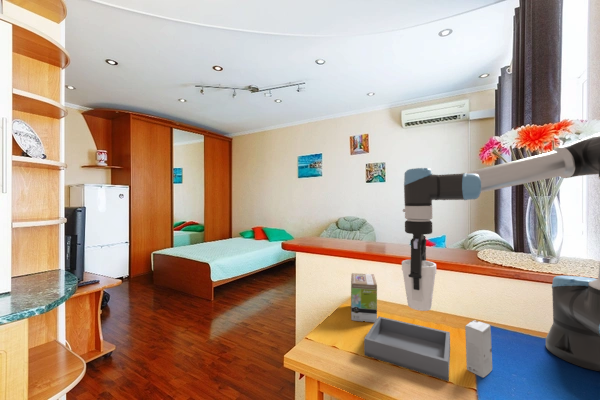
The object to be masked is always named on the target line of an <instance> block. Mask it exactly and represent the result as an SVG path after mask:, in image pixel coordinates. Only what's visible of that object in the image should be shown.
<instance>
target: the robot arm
mask: <svg viewBox="0 0 600 400" xmlns="http://www.w3.org/2000/svg"><path fill="white" fill-rule="evenodd" d="M403 175H404V179H403V180H404V181H403V193H404V197H403V198H404V208H403V209H402V212H403V213H404V219H405V221H404V231H405V233H406V234H412V238H411V239H410V260H411V270H410V274H409V277H411V281H412V300H416V301H421V302H422V301H423V299H422V278H421V277H422V276H421V271H422V261H427V253H426V252H427V239H426V235H431V234H433V222H432V221H431V220H432V219H433V201H440V200H441V201H468V200H477V199H478V198H479V197H480V195H481V193H485V192H490V191H495V190H499V189H504V188H510V187H513V186H519V185H524V184H529V183H533V182H538V181H543V180H548V179H552V178H557V177H558V178H559V177H560V178H563V179H569V178H575V177H581V176H591V175H594V176H595V175H598V179H599V180H600V132H598V133H594V134H593V135H591V136H586V137H585V138H582V139H580V140H577V141H574V142H572V143H568V144H565V145H560V146H558V147H554V148H553V149H552V151H550V152H546V153H545V152H544V153H542V154H538V155H533V156H529V157H524V158H520V159H517V160H513V161H509V162H508V161H507V162H504V163H500V164H496V165H491V166H487V167H482V168H478V169H475V170H470V171H466V172H461V173H450V174H449V173H448V174H446V173H445V174H433V173H432V169H431V168H429V167H416V168H409V169H407V170H406V171H405V172H404V174H403ZM414 272H416V273H414ZM597 276H598V277H597V278H594V277H589V276H587V277H586V276H577V275H576V276H575V275H556V276H554V277H553V278H552V284H551V289H552V293H551V295H552V319H553V320H552V324H551V326H550V329H549V331H548V333H547V335H546V337H545V347H546V349H547V350H548V351H549V352H550V353H551V354H552V355H554V356H556V357H557V358H559V359H561V360H563V361H565V362H568V363H570V364H572V365H575V366H578V367H581V368H584V369H588V370H590V371H591V370H592V371H596V372H600V263H599V266H598V274H597Z"/></svg>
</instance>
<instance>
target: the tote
mask: <svg viewBox="0 0 600 400" xmlns="http://www.w3.org/2000/svg"><path fill="white" fill-rule="evenodd" d="M363 342H364V343H363V344H364V345H363V347H364V348H363V349H364V351H363V352H364V356H366V357H368V358H369V357H370V358H371V359H375V360H379V361H381V362H385V363H389V364H391V365H394V366H398V367H400V368H401V367H402V368H404V369H407V370H411V371H414V372H417V373H421V374H423V375H427V376H430V377H433V378H435V379H436V378H437V379H440V380H443V381H446V382H449V380H450V379H449V378H450V362H451V361H450V360H451V359H450V358H451V332H450V331H447V330H442V329H436V328H433V327H428V326H424V325H420V324H414V323H410V322H405V321H402V320H401V321H400V320H397V319H392V318H388V317H385V316H384V317H383V316H377V320H376V321H375V322H373V325H372V326H371V328H369V331H368V332H367V334H366V335H365V337H364V339H363Z"/></svg>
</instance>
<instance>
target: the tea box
mask: <svg viewBox="0 0 600 400" xmlns="http://www.w3.org/2000/svg"><path fill="white" fill-rule="evenodd" d="M350 275H351V278H350V279H351V280H350V312H351V313H350V314H351V317H350V318H351V321H354V322H355V321H356V322H363V321H365V322H366V323H375V321H376V320H377V318H378V285H377V280H376V278H375V274H373V273H356V272H354V273H353V272H352V273H351V274H350Z"/></svg>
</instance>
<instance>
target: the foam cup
mask: <svg viewBox="0 0 600 400" xmlns="http://www.w3.org/2000/svg"><path fill="white" fill-rule="evenodd" d="M401 270H402V275H403V280H404V281H403V282H404V289H405V293H406V294H405V296H406V301H407V302H406V303H407V306H408V307H409V308H410V309H412V310H415V311H420V312H426V311H431V309H432V304H433V303H432V302H433V298H434V297H433V296H434V295H433V294H434V289H435V288H434V287H435V282H436V281H435V280H436V274H437V263H435V262H433V261H429V260H426V261H422V271H421V276H422V277H421V278H422V299H423V301H422V302H421V301H416V300H412V281H411V277H409V274H410V270H411V259H405V260H402V261H401ZM414 273H416V272H414Z"/></svg>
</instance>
